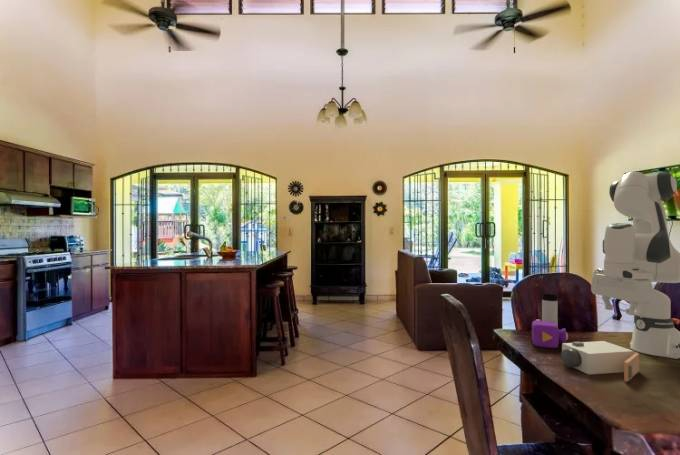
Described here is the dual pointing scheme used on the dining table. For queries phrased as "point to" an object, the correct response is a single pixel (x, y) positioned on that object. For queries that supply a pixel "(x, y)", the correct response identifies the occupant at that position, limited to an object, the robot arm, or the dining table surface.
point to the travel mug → (550, 308)
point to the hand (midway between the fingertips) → (619, 312)
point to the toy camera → (547, 334)
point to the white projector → (595, 357)
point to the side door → (631, 366)
